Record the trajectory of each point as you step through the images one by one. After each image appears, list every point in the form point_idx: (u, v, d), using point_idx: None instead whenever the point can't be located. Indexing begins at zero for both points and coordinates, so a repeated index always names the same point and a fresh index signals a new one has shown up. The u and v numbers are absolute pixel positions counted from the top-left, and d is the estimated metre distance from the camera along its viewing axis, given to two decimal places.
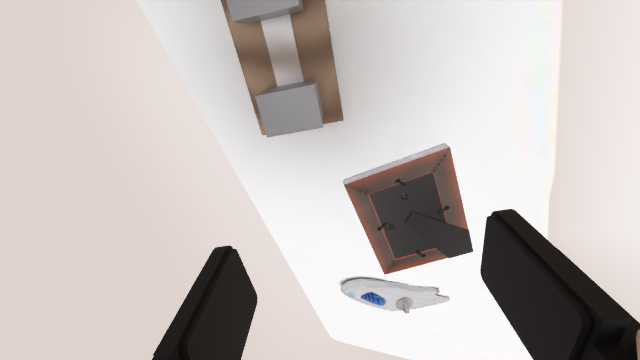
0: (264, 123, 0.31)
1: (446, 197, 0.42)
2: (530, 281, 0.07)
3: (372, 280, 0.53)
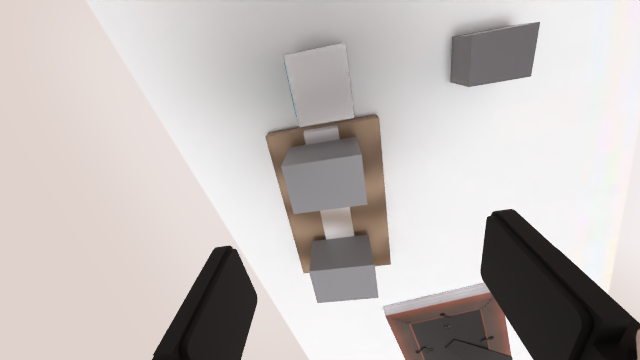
0: (316, 292, 0.29)
1: (491, 329, 0.40)
2: (530, 281, 0.07)
3: None
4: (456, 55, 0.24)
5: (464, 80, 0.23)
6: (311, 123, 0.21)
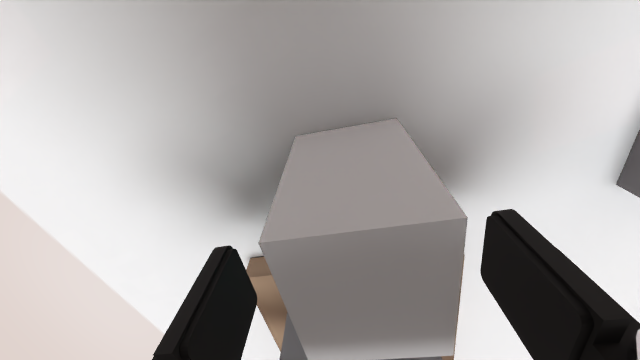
0: None
1: None
2: (530, 281, 0.07)
3: None
4: None
5: None
6: (340, 359, 0.09)
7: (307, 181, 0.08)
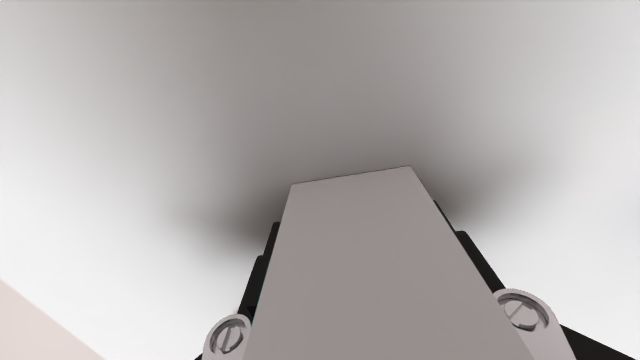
0: None
1: None
2: None
3: None
4: None
5: None
6: None
7: (305, 267, 0.06)
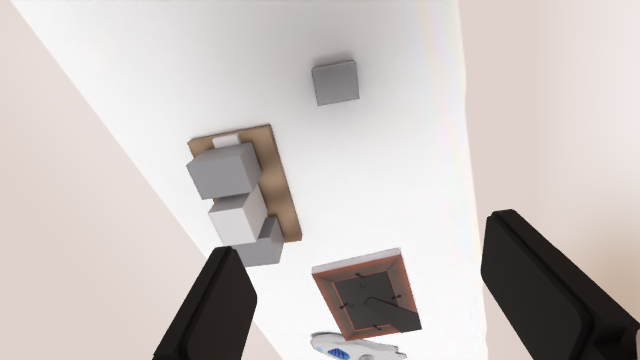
0: None
1: (398, 288, 0.49)
2: (530, 281, 0.07)
3: (339, 336, 0.58)
4: None
5: None
6: (230, 244, 0.35)
7: (222, 201, 0.35)
